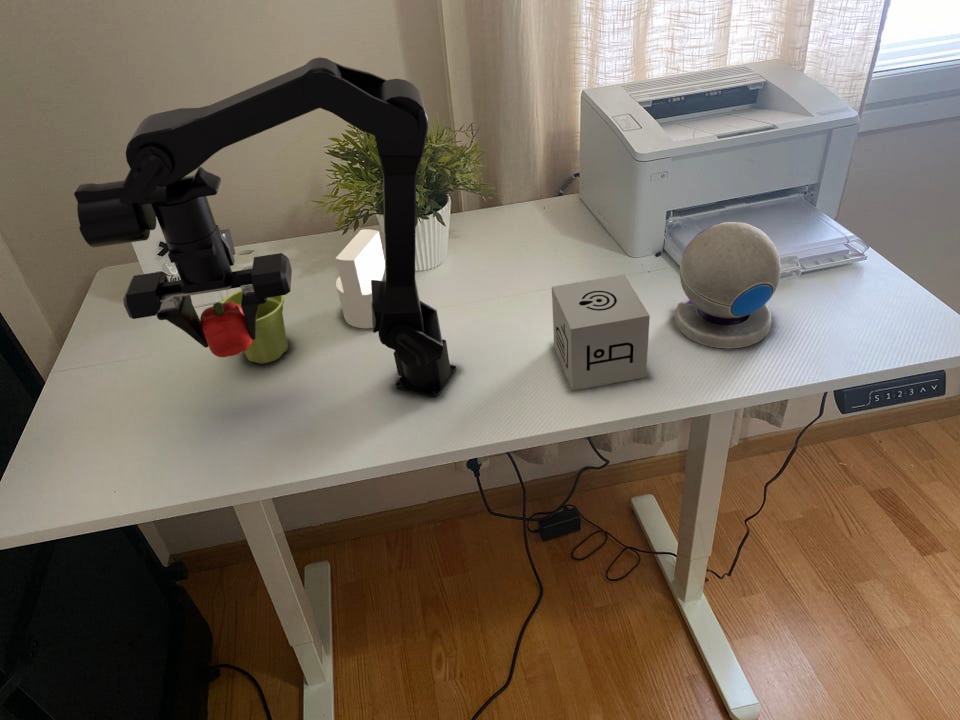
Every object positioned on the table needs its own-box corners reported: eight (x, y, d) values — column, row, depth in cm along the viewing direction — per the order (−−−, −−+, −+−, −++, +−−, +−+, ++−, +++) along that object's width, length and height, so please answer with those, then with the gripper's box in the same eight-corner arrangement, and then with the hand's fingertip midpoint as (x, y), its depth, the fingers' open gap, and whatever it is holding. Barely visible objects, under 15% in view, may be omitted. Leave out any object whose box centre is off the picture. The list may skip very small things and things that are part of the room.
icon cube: (572, 390, 96) (571, 329, 90) (554, 345, 104) (551, 286, 98) (645, 377, 97) (649, 315, 91) (622, 333, 105) (624, 274, 99)
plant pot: (240, 379, 105) (222, 330, 99) (230, 345, 112) (212, 297, 106) (304, 358, 107) (289, 310, 102) (291, 326, 114) (276, 279, 109)
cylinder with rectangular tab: (386, 331, 111) (372, 263, 103) (334, 324, 113) (316, 257, 106) (409, 298, 117) (397, 231, 110) (359, 292, 120) (344, 227, 113)
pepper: (266, 338, 94) (251, 294, 90) (238, 366, 90) (222, 322, 86) (228, 330, 96) (212, 288, 92) (199, 358, 92) (181, 314, 88)
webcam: (736, 288, 111) (750, 197, 102) (790, 334, 101) (810, 238, 92) (659, 309, 109) (666, 218, 99) (706, 359, 99) (718, 263, 90)
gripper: (277, 189, 90) (306, 295, 100) (121, 212, 89) (166, 318, 98) (272, 231, 81) (304, 343, 91) (99, 258, 80) (151, 369, 90)
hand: (230, 341), depth 93 cm, fingers closed on pepper, 5 cm apart
